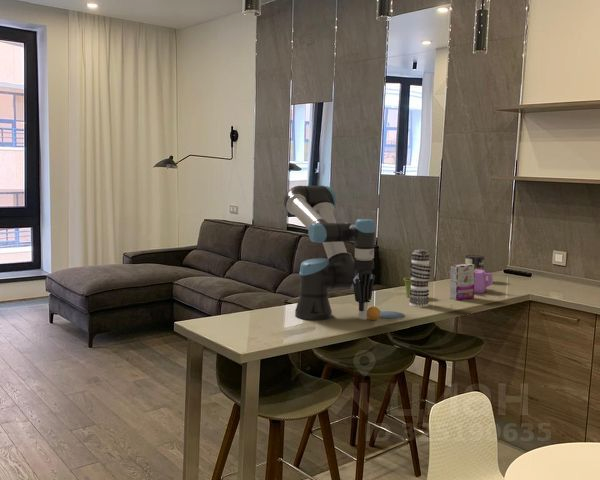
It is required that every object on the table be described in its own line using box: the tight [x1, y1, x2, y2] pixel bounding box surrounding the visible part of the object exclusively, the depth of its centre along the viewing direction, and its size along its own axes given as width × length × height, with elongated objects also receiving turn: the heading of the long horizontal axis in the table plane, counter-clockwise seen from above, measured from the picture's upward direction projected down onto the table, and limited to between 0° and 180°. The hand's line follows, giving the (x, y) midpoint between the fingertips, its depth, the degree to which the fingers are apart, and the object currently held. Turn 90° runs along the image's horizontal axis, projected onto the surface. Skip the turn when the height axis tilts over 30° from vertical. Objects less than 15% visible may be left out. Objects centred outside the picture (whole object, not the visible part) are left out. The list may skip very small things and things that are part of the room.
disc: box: [379, 310, 406, 320], centre depth 255 cm, size 13×13×1 cm
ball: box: [367, 306, 380, 321], centre depth 246 cm, size 6×6×6 cm
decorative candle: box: [408, 248, 432, 308], centre depth 275 cm, size 9×9×25 cm
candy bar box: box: [449, 263, 475, 301], centre depth 291 cm, size 11×5×16 cm, turn 117°
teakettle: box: [448, 269, 494, 295], centre depth 312 cm, size 17×17×12 cm
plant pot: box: [403, 277, 411, 299], centre depth 294 cm, size 9×9×9 cm
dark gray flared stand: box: [464, 254, 485, 271], centre depth 341 cm, size 10×10×14 cm
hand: (362, 318), depth 240 cm, fingers closed
